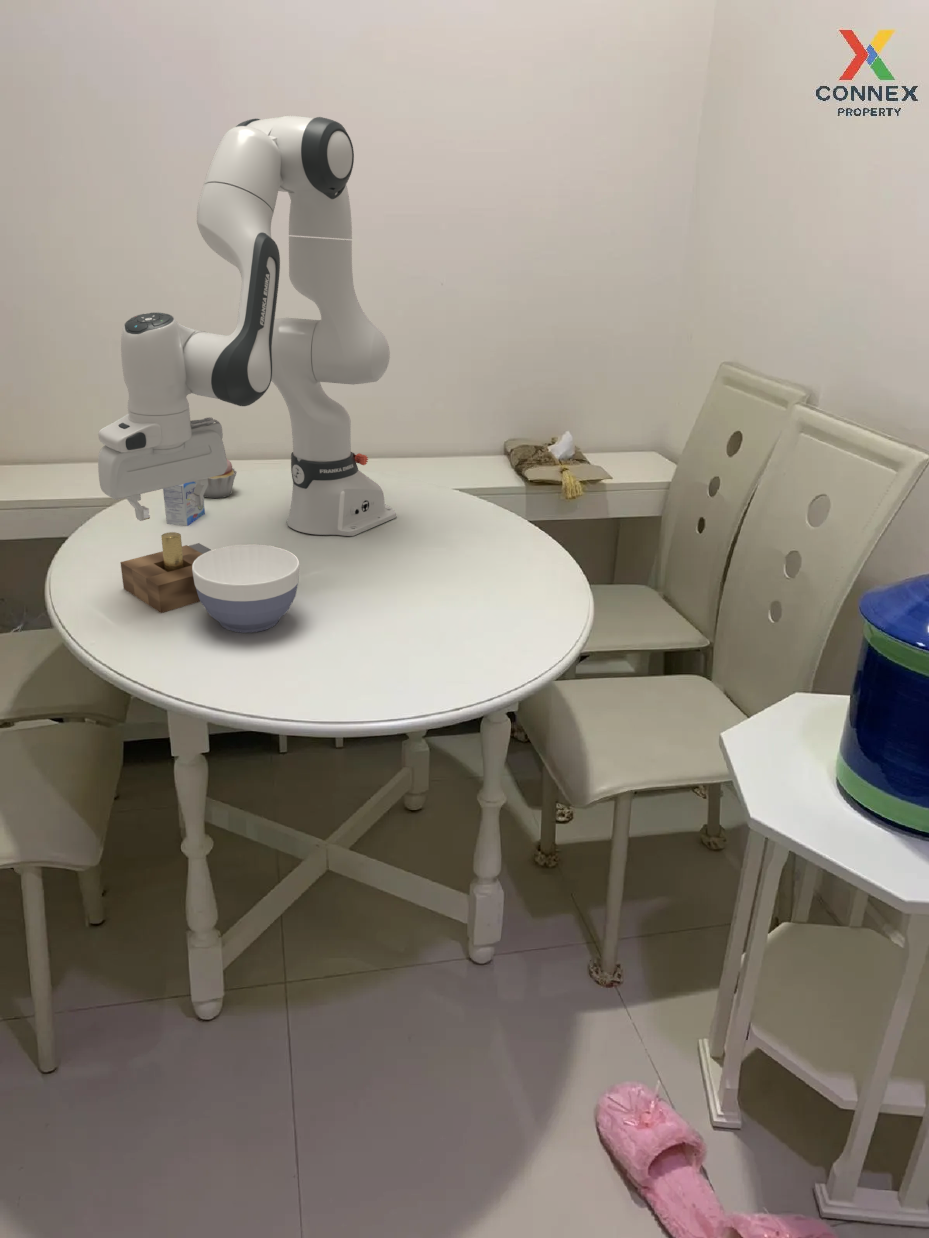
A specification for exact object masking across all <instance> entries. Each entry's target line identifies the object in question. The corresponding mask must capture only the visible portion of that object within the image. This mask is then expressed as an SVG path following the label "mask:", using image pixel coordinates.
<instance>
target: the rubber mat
mask: <svg viewBox="0 0 929 1238" xmlns="http://www.w3.org/2000/svg"><path fill="white" fill-rule="evenodd" d="M188 546H189V547H191V548H193V549H195V550H196V551H198V552H200V553H202V554H204V553H206V552H208V551H211V550H212V549H211V548H209V547H207V546H205V545H204V544H202V543H200V542H198V543H194V544H190V545H188Z"/></svg>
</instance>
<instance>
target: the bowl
mask: <svg viewBox="0 0 929 1238" xmlns="http://www.w3.org/2000/svg"><path fill="white" fill-rule="evenodd" d="M192 571H193V578H194V584H195V587H196V590H197V593H198V597H199V600H200V603H201V605H202V606H203V607H204V609H205V610H206V612H207V613H208V615H209V616H210V617H212V618H213V619H214V620H215V621H217V622H219V624H220V625H221V627H222V628H224V629H226V630H228V631H231V632H234V633H235V632H236V633H243V634H244V633H247V634H249V633H258V632H262V631H263V632H264V631H266V630H268V629H270V628H273V627H274V626H275V625H277V624H278V622H279V620H280V619H281V618H282V617H283V616H284V615H285V614H287V612H288V611H289V609H291V608H290V607H291V606H292V603H293V602H294V600H295V598H296V595H297V590H298V583H299V579H300V561H299V558H298V557H297V556H296V555H295V554H294V553H292V552H291V551H289V550H286V549H284V548H283V547H282V548H281V547H277V546H273V545H268V544H267V545H266V544H250V543H249V544H248V543H247V544H234V545H227V546H221V547H218V548H215V549H211V551H208V552H206V553H204V554H202V555H200V556H199V557H198V558H197V559H196V560H195V561H194V563H193V565H192Z"/></svg>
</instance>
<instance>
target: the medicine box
mask: <svg viewBox="0 0 929 1238" xmlns="http://www.w3.org/2000/svg"><path fill="white" fill-rule="evenodd" d="M196 484H197V483H195V482H194V481H193V482H189V483H185V484H181V485H176V486H172V487H168V488H164V489H162V492H163V494H162V495H163V501H164V511H165V520H166V524H167V525H172V526H180V527H188V526H189V525H191V524H192V523H194V522H196V521H197V520H198V519H200V518H201V517H203V516H204V515H205V513H206V511H205V509H206V508H205V498H204V497H205V496H203V505H200V506H197V507H194V506H192V505H191V504H190V498H189V494H192V493H193V492H194V489H195V487H196Z"/></svg>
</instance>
